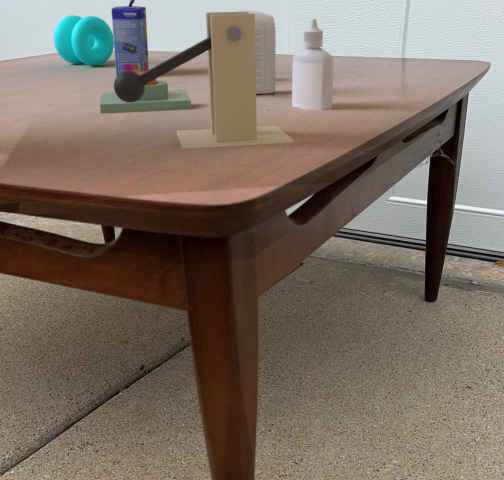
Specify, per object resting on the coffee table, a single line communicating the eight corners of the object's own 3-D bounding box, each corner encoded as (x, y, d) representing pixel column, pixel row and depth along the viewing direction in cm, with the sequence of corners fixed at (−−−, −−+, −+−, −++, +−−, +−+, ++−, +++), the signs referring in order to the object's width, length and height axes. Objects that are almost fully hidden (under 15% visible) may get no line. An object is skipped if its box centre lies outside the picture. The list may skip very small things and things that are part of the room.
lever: (123, 110, 72) (107, 82, 70) (123, 105, 75) (108, 77, 73) (251, 41, 71) (237, 11, 70) (246, 38, 74) (233, 9, 72)
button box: (101, 121, 92) (98, 90, 90) (103, 108, 101) (100, 80, 99) (191, 116, 93) (189, 86, 92) (185, 104, 102) (183, 76, 101)
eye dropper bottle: (304, 119, 90) (305, 21, 85) (289, 112, 95) (289, 18, 90) (335, 117, 91) (338, 19, 86) (318, 110, 96) (320, 17, 91)
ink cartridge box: (145, 77, 131) (138, -7, 125) (115, 77, 131) (107, -6, 125) (151, 70, 140) (145, -8, 134) (123, 71, 140) (116, -7, 133)
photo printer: (271, 90, 113) (271, 8, 108) (279, 94, 109) (278, 10, 104) (210, 94, 111) (206, 11, 105) (215, 98, 107) (212, 12, 102)
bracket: (183, 159, 72) (174, 17, 66) (177, 141, 80) (168, 12, 74) (295, 152, 74) (296, 13, 68) (278, 135, 82) (277, 9, 76)
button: (130, 88, 94) (129, 75, 93) (130, 84, 97) (129, 71, 96) (157, 87, 94) (156, 74, 93) (156, 83, 97) (155, 70, 97)
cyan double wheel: (93, 61, 157) (87, 13, 153) (118, 64, 151) (114, 14, 146) (54, 65, 151) (47, 16, 146) (79, 68, 144) (73, 17, 140)
